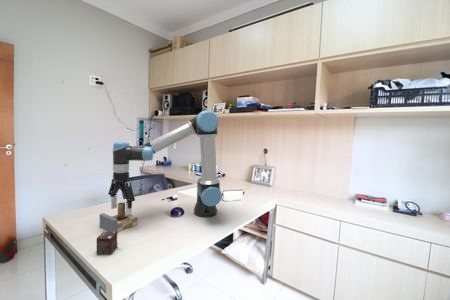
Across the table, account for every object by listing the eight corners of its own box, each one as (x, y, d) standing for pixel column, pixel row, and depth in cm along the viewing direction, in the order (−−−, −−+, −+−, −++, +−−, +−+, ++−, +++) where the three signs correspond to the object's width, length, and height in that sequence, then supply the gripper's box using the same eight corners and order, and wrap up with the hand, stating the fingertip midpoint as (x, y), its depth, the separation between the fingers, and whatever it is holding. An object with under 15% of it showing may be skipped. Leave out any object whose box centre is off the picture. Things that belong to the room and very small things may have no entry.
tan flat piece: (137, 224, 113) (137, 217, 113) (116, 232, 104) (116, 224, 103) (124, 219, 119) (125, 212, 119) (104, 226, 110) (104, 218, 109)
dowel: (120, 227, 109) (120, 205, 108) (116, 225, 111) (116, 203, 110) (126, 225, 112) (126, 203, 111) (122, 223, 114) (122, 202, 113)
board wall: (157, 219, 123) (157, 206, 122) (110, 239, 99) (110, 222, 99) (141, 213, 131) (141, 201, 130) (94, 230, 107) (94, 215, 106)
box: (103, 247, 92) (103, 231, 92) (117, 247, 93) (117, 231, 92) (96, 255, 86) (96, 238, 86) (111, 255, 87) (111, 238, 86)
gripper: (142, 173, 106) (142, 214, 107) (114, 167, 119) (114, 204, 121) (128, 176, 99) (128, 219, 101) (101, 169, 113) (101, 207, 114)
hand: (121, 211), depth 111 cm, fingers open, 13 cm apart
